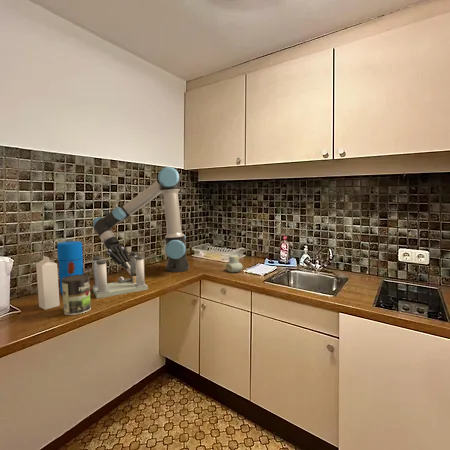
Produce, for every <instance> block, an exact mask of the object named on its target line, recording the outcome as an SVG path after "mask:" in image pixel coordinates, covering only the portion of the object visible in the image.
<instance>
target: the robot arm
mask: <svg viewBox="0 0 450 450" xmlns="http://www.w3.org/2000/svg"><path fill="white" fill-rule="evenodd" d="M180 185H181V184H180V174H179V172H178V170H177V169H176V168H175V167H171V166H165V167H163V168H162V169H160V170H159V172H158V175H157V178H156V179H155V182H154V183H152V184H150V186H148V187H147V188H145V189H144V190H143V191H141V192H140V193H138V194H137V195H136V196H135V197H133V198H132V199H130V201H128V202H127V203H124V205H123V206H121V207H120V206H117V207H115V208H114V209H112V210H111V211H110V212H108V214H106V215H105V216H103V217H102V216H97V217H94V218H93V219H94V220H92V221H93V226H92V229H93V230H94V231H95V233H96V234H97V236H98V237H99V239H100V240H101V242H102V243H103V245H104V246H105V248H106V250H107V251H106V252H105V253H106V255H108V256H109V257H110V258H111V259H112V260H114V262H115V263H116V264H117V265H118V266H121V267H123V268H124V269H125V270H126V271H127V272H128V274H129V275H131V269H130V254H129V253H128V250H127V246H122V245H121V244H120V241H119V239H118V238H117V237H116V235H115V234H114V232H113V231H112V228H113V227H115V226H116V225H117V224H119V223H121V222H125V221H126V220H127V219H128V218H129V217H130V216H132V215H133V214H135V213H136V212H138V211H139V210H140V209H142V208H143V207H144V206H146V205H147V204H149V203H150V202H152V200H154V199H155V198H157V197H158V196H159V195H161V194H162V195H163V202H164V203H163V204H164V214H165V226H166V235H165V236H164V239H165V240H164V241H165V247H164V248H165V249H164V250H165V251H164V252H165V253H166V255H167V261H166V265H165V271H166V272H171V273H179V272H180V273H182V272H185V271H189V270H190V264H189V262H188V258H187V242H186V241H187V237H186V234H184V233H183V232H182V222H181V212H180V211H181V210H180V202H179V199H180V198H179V192H180V190H181V186H180ZM124 220H125V221H124Z"/></svg>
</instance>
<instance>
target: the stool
mask: <svg viewBox="0 0 450 450" xmlns="http://www.w3.org/2000/svg"><path fill="white" fill-rule="evenodd" d="M92 260H93V273H94V284H93V285H92V289H91V290H92V291H93V294H94V295H95V298H96V299H102V298H108V297H113V296H115V297H116V296H120V295H125V294H129V293H135V292H136V293H137V292H141V291H148V290H149V286H148V285H147V284H146V281H145V256H144V255H138V256H136V257H135V260H136V276H133V277H132V281H128V282H122V283H119V282H118V281H114V282H108V279H107V277H108V276H107V275H108V274H107V260H106V259H103V256H102V255H101V256H99V255H97V256H93V257H92Z"/></svg>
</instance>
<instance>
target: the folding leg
mask: <svg viewBox="0 0 450 450" xmlns="http://www.w3.org/2000/svg"><path fill="white" fill-rule="evenodd" d="M128 255H129V257H130V261H129V264H130V269H131V274H130V277H129V278H125V277H124V276H119V277H118V278H117V282H119V283H122V282H128V281H132V277H133V276H136V260H135V257H136V256H139V251H130V252H129V253H128Z"/></svg>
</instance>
